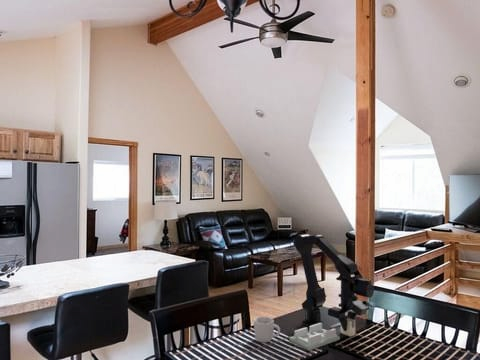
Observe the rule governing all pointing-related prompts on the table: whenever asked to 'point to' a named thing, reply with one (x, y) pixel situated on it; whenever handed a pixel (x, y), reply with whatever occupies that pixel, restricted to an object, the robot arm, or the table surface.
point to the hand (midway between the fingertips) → (347, 329)
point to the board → (314, 336)
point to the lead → (335, 325)
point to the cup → (265, 329)
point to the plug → (349, 328)
